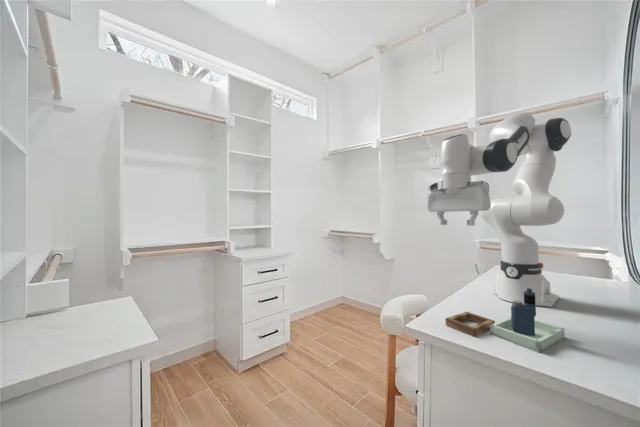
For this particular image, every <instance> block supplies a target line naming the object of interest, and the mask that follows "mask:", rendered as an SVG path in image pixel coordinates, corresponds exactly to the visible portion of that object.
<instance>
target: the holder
mask: <svg viewBox="0 0 640 427" xmlns="http://www.w3.org/2000/svg"><path fill="white" fill-rule="evenodd" d="M467 321H470V322H472V323H475V324H474V325H469V324H467V323H463V322H467ZM495 321H496V320H493V319H491V318H487V317H485V316H481V315H478V314H475V313H472V312H469V311H464V312H461V313H457V314H455V315H451V316H449V317H445V326H446V325H447V326H446V327H449V328H452V329H453V330H457V331H459V332H461V333H464V334H467V335H469V336H470V337H471V336H472V337H476V336H478V335H481V334H485V332H488V331H490V325H492V324H494V323H496V322H495Z"/></svg>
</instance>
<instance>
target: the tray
mask: <svg viewBox="0 0 640 427" xmlns="http://www.w3.org/2000/svg"><path fill="white" fill-rule="evenodd" d="M534 321H535V336H530V335H525V334H519V333H515V332H514V331H513V329H512V324H511V316H510V317H509V316H508V317H507V318H504V319H502V320H499V321H497V322H495V323H494V324H492V325H490V330H489V331H490V335H492V336H494V337H497V338H499V339H502V340H505V341H508V342H510V343H513V344H515V345H518V346H521V347H524V348H526V349H527V350H532V351H534V352H537V353H538V354H539V353H542V352H543V351H546V350H547V349H548V348H550V347H551V346H552V347H553V346H554V345H555V344H557V343H559V342H560V341H562V340H565V327H560V326H556V325H555V324H554V325H553V324H549V323H545V322H543V321H540V320H536V319H534Z"/></svg>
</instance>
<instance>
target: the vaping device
mask: <svg viewBox="0 0 640 427" xmlns="http://www.w3.org/2000/svg"><path fill="white" fill-rule="evenodd" d="M510 309H511V310H510V313H511V314H510V315H511V316H510V317H511V324H512V329H513V331H514V332H515V333H519V334H525V335H530V336H535V321H534V320H535V317H536V316H537V311H536V310H537V307H536V305H535V293H534V292H532V289H529V288H527V291H524V304H522V302H521V301H513V302H512V304H511V307H510Z"/></svg>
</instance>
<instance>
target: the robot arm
mask: <svg viewBox="0 0 640 427" xmlns="http://www.w3.org/2000/svg"><path fill="white" fill-rule="evenodd" d="M571 134H572V128H571V125H570V123H569V121H568V120H567V119H565V118H563V117H556V118H551V119H548V120H545V121H541V122H537V123H536V119H535V116H533V115H532V114H531V113H529V112H519V113H515V114H512V115H510V116H507V117H505V119H503V120H501V121H499V122H498V123H497V124H496V125H495V126H494V127H492V128H491V131H490V132H489V136H488V137H489V143H484V144H481V145H477V146H475V145H472V144H471V143H470V140H469V137H468V135H467V134H464V133H461V134H456V135H453V136H449V137H446V138H445V139H444V140H443V141H442V143H441V147H440V166H441V173H440V179H438V180H436V181H435V182H433V183H430V184H429V185H428V186H427V190H428V191H429V192H428V194H427V198H426V201H427V202H426V203H427V204H426V207H427V210H428V212H429V213H436V215H437V216H436V217H437V218H438V219H439V225H440V226H447V225H448V219H445V217H444V215H445V213H448V212H469V215H471V216H470V217H469V219H467V220H466V226H470V227H471V226H472V227H473V226H475V221H476V219H477V217H478V216H479V212H480V213H481V216H482V218H483V220H484V221H485V222H486V223H487V224H489V225H490V226H491V227H492V228H493V230H494V231H495V232H496V234H497V236H498V238H499V241H500V251H501V260H500V263H499V267H500V270H501V271H500V272H498V273H497V275H496V276H497V277H496V289H495V290H493V292H492V293H493V294H494V295H496V297H497V298H499V299H501V300H504V301H507V302H510V303H513V301H521V302H522V305H524V291H527V288H529V289H532V292H534V293H535V306H538V307H539V306H540V307H550V308H552V307H554V305H555V304H556V303H557V301H558V300H559V298H560V297H559V295H558V294H556V293H552V291H551V283H550V281H549V280H548V279H547V278H546V277H545V276H544V275H543V274H542V273H543V271H542V269H543V268H544V263H543V262H539V261H540V259H539V258H540V256H539V244H538V242H537V240H536V239H534V238H533V237H531V236H529V235H528V234H525V233H524V232H523V230H522V226H526V227H527V226H528V227H529V226H530V227H532V226H533V227H541V226H548V225H555V224H557V223H559V222H560V220H562V218H563V216H564V213H565V208H564V207H565V206H564V204H563V203H562V201H561V200H560V199H559V198H558V197H556V196H554V195H552V194H550V192H549V188H550V184H551V183H552V182H551V181H552V179H553V176H554V173H555V170H556V165H557V158H556V156H555V154H554V153H555V152H559V151H561V150H562V149H563V147H564V146H565V145H566V144H567V143H568V141H569V139H570V138H571ZM522 155H526V157H525V159H524V160H523V162H522V163H521V165H520V166H519V168H518V170H517V173H516V175H515V177H514V180H513V181H512V184H511V185H512V190H513V191H514V192H515V193H516V194H517V195H519V196H512V197H511V196H508V197H497V198H493V199H491V196H490V194H489V193H490V184H489V183H488V182H486V181H484V180H478V181H472V177H473V176H478V175H479V176H480V175H485V174H492V173H502V172H508V171H510V170H511V169H512V168H513V167H514V165H515V164H516V163H517V160H518V158H519V157H520V156H522Z"/></svg>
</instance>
